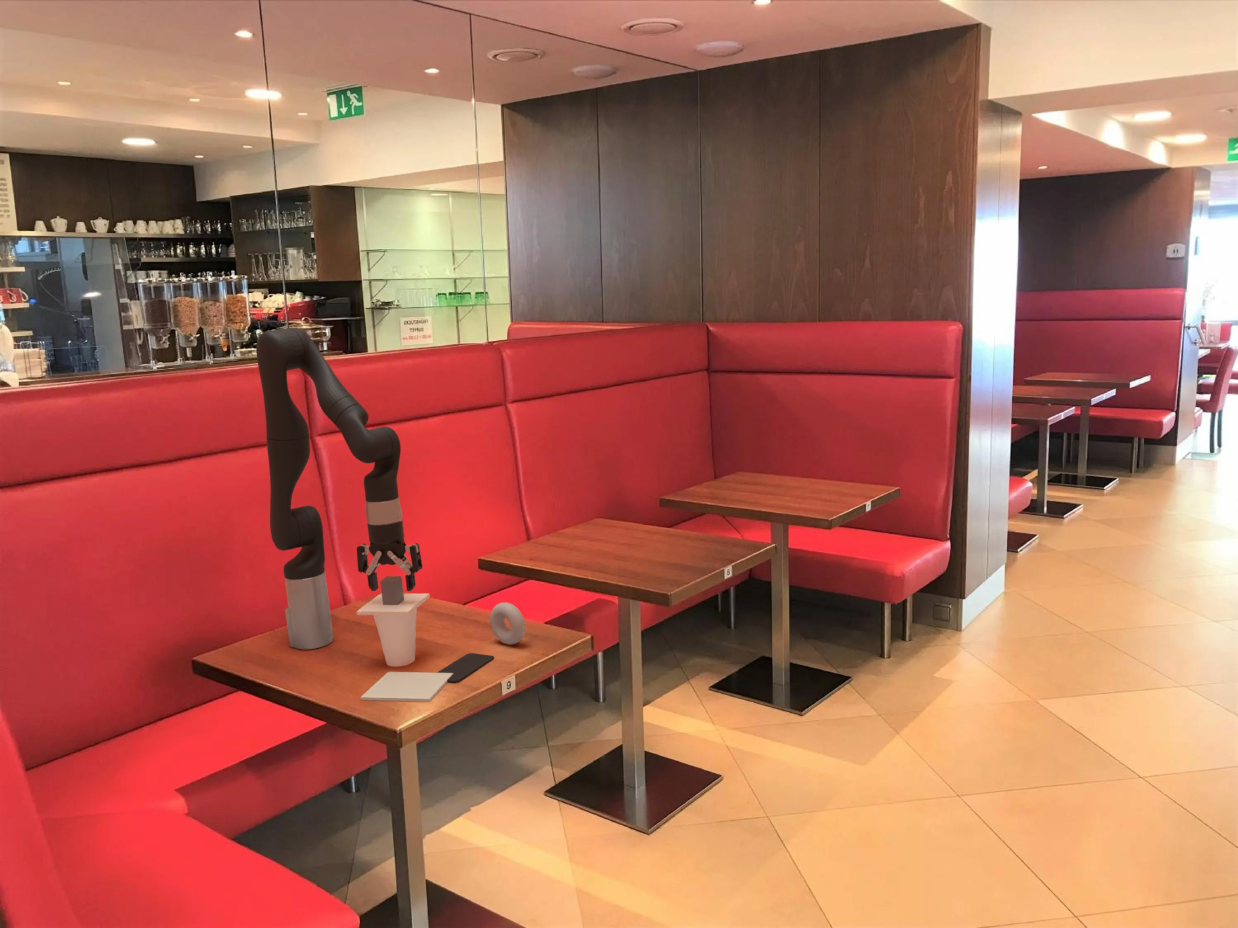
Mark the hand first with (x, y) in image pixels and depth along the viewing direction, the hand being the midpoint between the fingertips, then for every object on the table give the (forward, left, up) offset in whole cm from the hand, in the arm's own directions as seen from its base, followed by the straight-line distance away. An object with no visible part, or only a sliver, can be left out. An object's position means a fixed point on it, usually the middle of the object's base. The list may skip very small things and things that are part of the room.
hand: (392, 590), depth 214 cm
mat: (+8, -14, -17) cm, 23 cm away
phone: (+16, -3, -17) cm, 24 cm away
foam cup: (0, 0, -17) cm, 17 cm away
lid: (0, 0, -4) cm, 4 cm away
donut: (+22, +11, -17) cm, 30 cm away
